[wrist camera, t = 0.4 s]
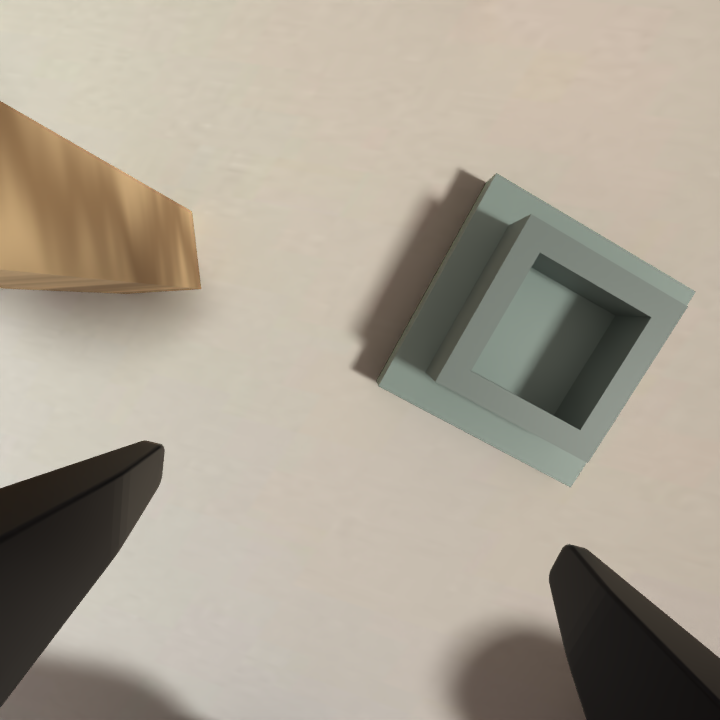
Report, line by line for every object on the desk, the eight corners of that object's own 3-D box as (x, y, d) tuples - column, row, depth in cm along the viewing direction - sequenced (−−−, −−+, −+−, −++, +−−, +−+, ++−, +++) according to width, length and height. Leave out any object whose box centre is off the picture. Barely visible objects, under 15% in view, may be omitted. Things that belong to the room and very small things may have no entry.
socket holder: (556, 475, 23) (598, 510, 19) (376, 380, 22) (382, 397, 18) (672, 292, 22) (742, 290, 18) (486, 182, 21) (517, 154, 17)
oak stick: (200, 288, 21) (-26, 267, 9) (126, 293, 21) (-215, 278, 9) (191, 211, 21) (-65, 63, 8) (115, 216, 21) (-269, 74, 8)
